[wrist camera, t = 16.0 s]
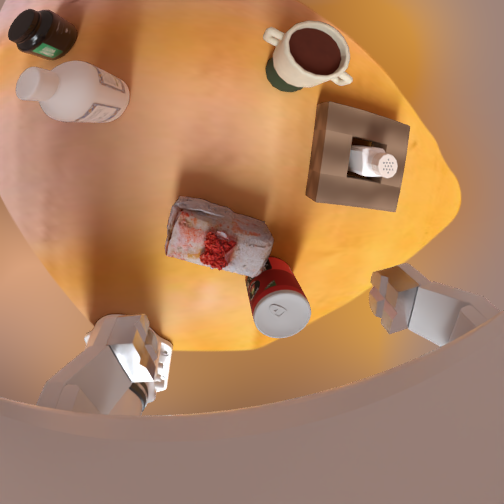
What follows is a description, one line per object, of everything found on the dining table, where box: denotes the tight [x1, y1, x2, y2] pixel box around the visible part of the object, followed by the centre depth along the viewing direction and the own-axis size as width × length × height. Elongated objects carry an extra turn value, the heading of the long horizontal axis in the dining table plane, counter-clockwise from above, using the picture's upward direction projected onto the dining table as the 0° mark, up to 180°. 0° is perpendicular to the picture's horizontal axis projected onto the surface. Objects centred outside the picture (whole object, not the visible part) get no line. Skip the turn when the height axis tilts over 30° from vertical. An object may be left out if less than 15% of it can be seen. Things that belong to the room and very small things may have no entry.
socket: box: [306, 101, 410, 212], centre depth 36 cm, size 14×14×4 cm
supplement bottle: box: [8, 9, 77, 60], centre depth 18 cm, size 7×7×12 cm
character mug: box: [263, 21, 353, 92], centre depth 26 cm, size 11×7×13 cm, turn 61°
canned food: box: [245, 257, 311, 338], centre depth 40 cm, size 8×8×11 cm
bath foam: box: [16, 61, 130, 123], centre depth 21 cm, size 7×7×20 cm
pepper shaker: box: [348, 145, 398, 178], centre depth 34 cm, size 4×4×10 cm
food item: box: [165, 196, 274, 278], centre depth 36 cm, size 14×8×10 cm, turn 72°
